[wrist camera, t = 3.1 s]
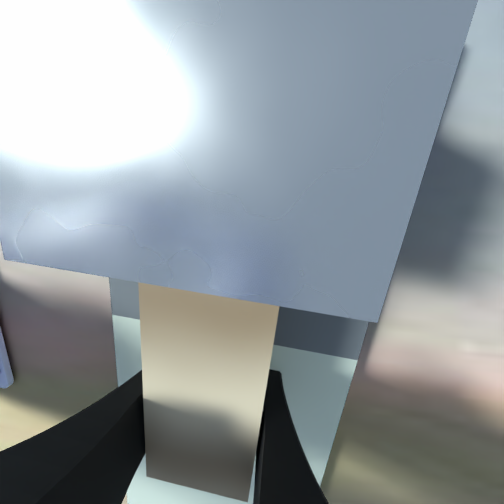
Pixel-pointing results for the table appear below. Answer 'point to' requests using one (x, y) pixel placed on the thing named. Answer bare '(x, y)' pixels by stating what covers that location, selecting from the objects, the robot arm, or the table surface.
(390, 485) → the table surface
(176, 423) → the bar
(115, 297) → the board
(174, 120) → the tunnel
